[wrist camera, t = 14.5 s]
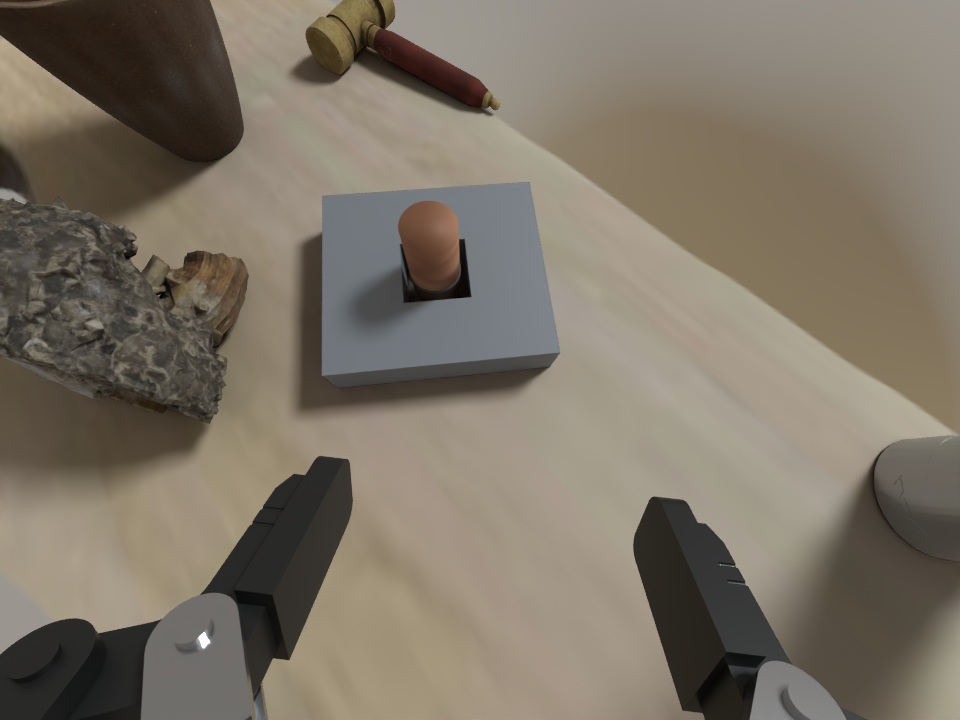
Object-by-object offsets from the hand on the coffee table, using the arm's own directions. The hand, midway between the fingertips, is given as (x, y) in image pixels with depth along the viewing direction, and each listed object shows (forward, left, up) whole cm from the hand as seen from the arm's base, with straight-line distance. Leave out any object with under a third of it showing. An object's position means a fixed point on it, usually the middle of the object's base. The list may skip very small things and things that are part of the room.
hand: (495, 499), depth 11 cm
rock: (+24, -14, -22) cm, 35 cm away
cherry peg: (+2, -17, -21) cm, 27 cm away
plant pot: (+24, -37, -21) cm, 49 cm away
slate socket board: (+2, -17, -21) cm, 27 cm away
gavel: (+2, -44, -22) cm, 49 cm away
